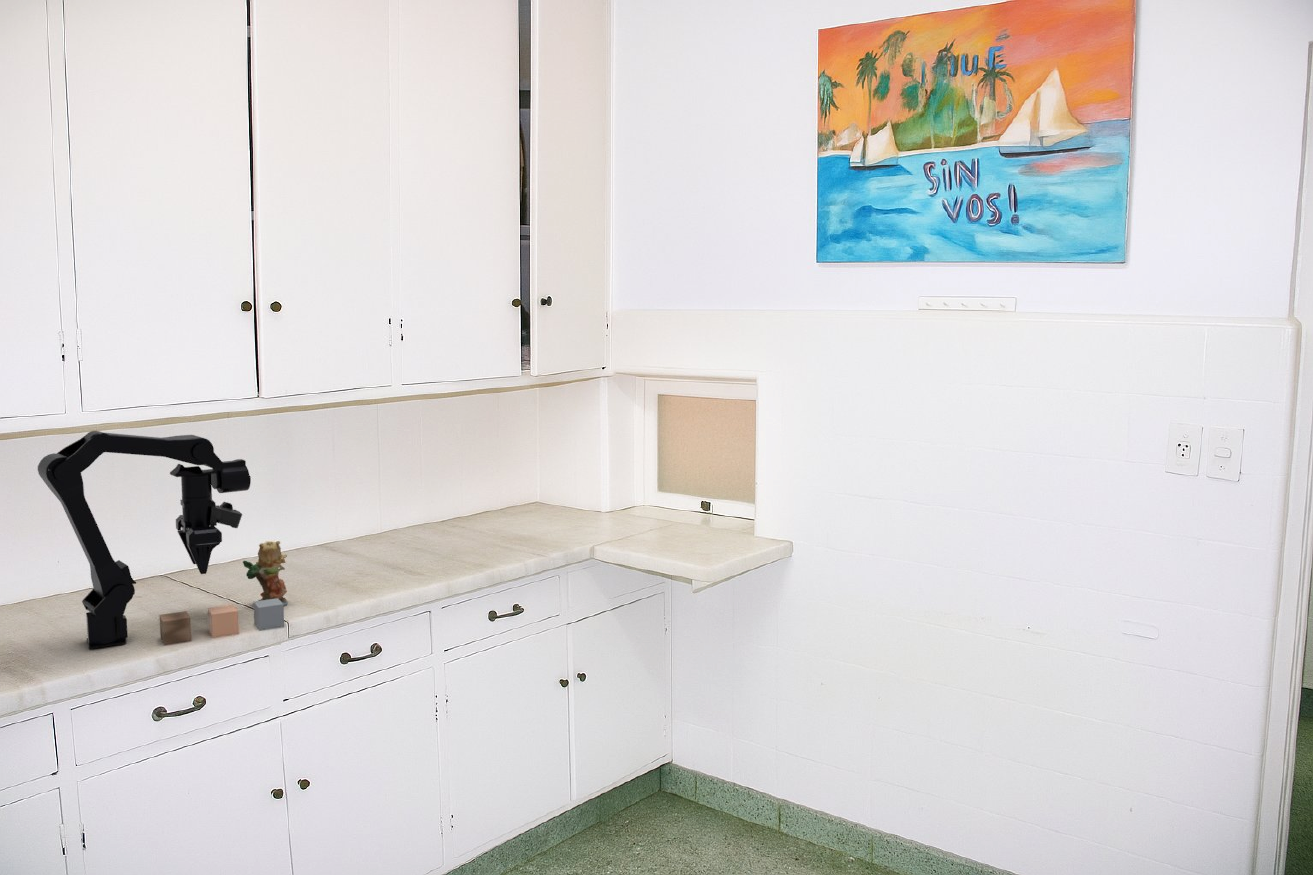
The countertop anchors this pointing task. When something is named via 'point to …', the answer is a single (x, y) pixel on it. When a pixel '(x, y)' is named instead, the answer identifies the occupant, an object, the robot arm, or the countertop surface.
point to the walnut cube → (175, 628)
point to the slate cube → (268, 614)
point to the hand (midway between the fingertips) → (199, 568)
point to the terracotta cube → (223, 621)
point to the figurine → (269, 571)
